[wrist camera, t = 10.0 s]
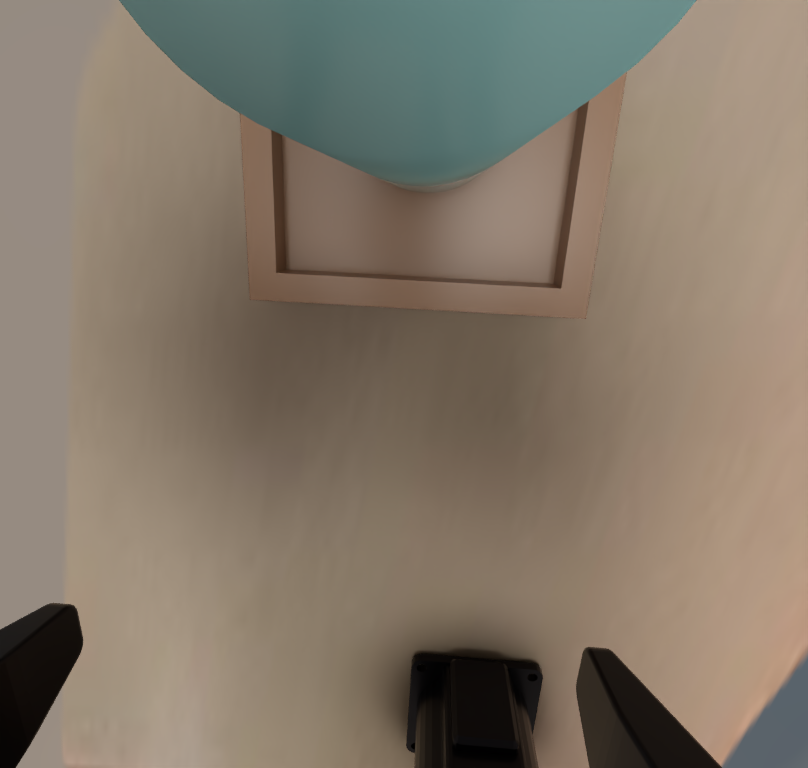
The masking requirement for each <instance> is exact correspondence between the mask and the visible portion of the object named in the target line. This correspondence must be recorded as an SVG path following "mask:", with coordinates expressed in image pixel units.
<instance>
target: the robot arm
mask: <svg viewBox="0 0 808 768" xmlns="http://www.w3.org/2000/svg"><path fill="white" fill-rule="evenodd" d="M82 646H83V636H82V631H81V626H80V621H79V616H78V611H77V609H76V608H75V606H74V605H71V604H60V603H50V604H47V605H45V606H43V607H41V608H40V609H38V610H36V611H34V612H32V613H30V614H28V615H27V616H25V617H23V618H21V619H19V620H17V621H15V622H14V623H12V624H10V625H8V626H6V627H4V628H2V629H1V630H0V768H16V766H17V765H18V763H19V762H20V760H21V758H22V757H23V755H24V754H25V752H26V751H27V749H28V747H29V746H30V744H31V742H32V740H33V739H34V737H35V735H36V734H37V732H38V730H39V728H40V727H41V725H42V723H43V721H44V719H45V717H46V715H47V714H48V712H49V710H50V708H51V706H52V705H53V703H54V701H55V699H56V697H57V696H58V694H59V691H60V690H61V688H62V686H63V685H64V683H65V681H66V679H67V677H68V675H69V674H70V672H71V670H72V668H73V666H74V664H75V663H76V661H77V659H78V657H79V655H80V653H81V650H82ZM419 664H423V665H419ZM542 679H543V676H542V671H541V668H540V666H539V665H537V664H535V663H527V662H515V661H503V660H491V659H479V658H467V657H455V656H443V655H432V654H417V655H415V656H414V657H413V659H412V669H411V683H410V698H409V713H408V728H407V743H406V746H407V749H408V750H409V751H411V752H413V753H415V768H539V767H538V762H537V757H536V751H535V746H534V741H533V729H534V724H535V718H536V713H537V707H538V702H539V696H540V691H541V685H542ZM576 692H577V700H578V706H579V711H580V717H581V722H582V728H583V734H584V739H585V745H586V750H587V756H588V761H589V767H590V768H722V767H721V766H720V765H719V764H718V763H717V762H716V761H715V760H714V759H713V757H712V756H711V755H710V754H709V753H708V752H707V751H706V750H705V749H704V748H703V747H702V746H701V745H700V744H699V743H698V742H697V741H696V739H695V738H694V737H693V736H692V735H691V734H690V733H689V732H688V731H687V730H686V729H685V728H684V727H683V726H682V725H681V724H680V723H679V721H678V720H677V719H676V718H675V717H674V716H673V715H672V714H671V713H670V712H669V711H668V710H667V709H666V708H665V707H664V706H663V705H662V703H661V702H660V701H659V700H658V699H657V698H656V697H655V696H654V695H653V694H652V693H651V692H650V691H649V690H648V689H647V688H646V686H645V685H644V684H643V683H642V682H641V681H640V680H639V679H638V678H637V677H636V676H635V675H634V674H633V673H632V672H631V671H630V670H629V668H628V667H627V666H626V665H625V664H624V663H623V662H622V661H621V660H620V659H619V658H618V657H617V656H616V655H615V654H614V653H613V652H612V651H611V650H609V649H606V648H595V647H587V648H585V650H584V651H583V654H582V659H581V664H580V669H579V673H578V678H577V685H576Z"/></svg>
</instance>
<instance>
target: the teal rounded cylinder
mask: <svg viewBox="0 0 808 768" xmlns="http://www.w3.org/2000/svg"><path fill="white" fill-rule="evenodd" d="M119 1H120V2H121V3H122V5H123V6H124V7H125V8H126V10H127V11H128V12H129V13H130V15H131V16H132V17H133V18H134V20H135V21H136V22H137V24H138V25H139V26H140V27H141V29H142V30H143V31H144V32H145V34H146V35H147V36H148V37H149V38H150V39H151V40H152V41H153V42H154V43H155V44H156V45H157V46H158V47H159V48H160V49H161V50H162V51H163V52H164V53H165V54H166V55H167V56H168V57H169V58H170V59H171V60H172V61H173V62H174V63H175V64H176V65H177V66H178V67H179V68H180V69H181V70H182V71H183V72H184V73H186V74H187V75H188V76H189V77H191V78H192V79H193V80H194V81H196V82H197V83H198V84H199V85H201V86H202V87H203V88H204V89H206V90H207V91H208V92H209V93H211V94H212V95H213V96H214V97H216V98H217V99H218V100H220V101H221V102H223V103H225V104H226V105H228V106H229V107H231V108H233V109H234V110H236V111H238V112H239V113H241V114H243V115H244V116H246V117H247V118H249V119H251V120H252V121H254V122H256V123H257V124H259V125H261V126H264V127H266V128H268V129H270V130H272V131H275V132H277V133H279V134H281V135H284V136H286V137H288V138H290V139H292V140H295V141H297V142H299V143H301V144H303V145H306V146H308V147H310V148H312V149H314V150H317V151H319V152H321V153H323V154H325V155H328V156H330V157H332V158H334V159H336V160H339V161H341V162H343V163H345V164H348V165H350V166H352V167H354V168H356V169H359V170H361V171H363V172H365V173H367V174H370V175H372V176H374V177H376V178H378V179H381V180H383V181H385V182H387V183H389V184H392V185H394V186H396V187H398V188H401V189H404V190H408V191H411V192H418V193H439V192H445V191H449V190H452V189H456V188H458V187H460V186H463V185H465V184H467V183H469V182H470V181H472V180H473V179H475V178H477V177H478V176H480V175H481V174H483V173H484V172H485V171H487V170H488V169H490V168H491V167H493V166H494V165H496V164H497V163H499V162H500V161H502V160H503V159H504V158H506V157H507V156H509V155H510V154H512V153H513V152H515V151H516V150H518V149H519V148H521V147H522V146H523V145H525V144H526V143H528V142H529V141H531V140H532V139H534V138H535V137H537V136H538V135H540V134H541V133H542V132H544V131H545V130H547V129H548V128H550V127H551V126H553V125H554V124H556V123H557V122H559V121H560V120H561V119H563V118H564V117H566V116H567V115H569V114H570V113H572V112H573V111H575V110H576V109H577V108H579V107H580V106H582V105H583V104H585V103H586V102H588V101H589V100H591V99H592V98H594V97H595V96H596V95H598V94H599V93H600V92H602V91H603V90H604V89H605V88H607V87H608V86H609V85H610V84H612V83H613V82H614V81H616V80H617V79H618V78H619V77H621V76H622V75H623V74H624V73H626V72H627V71H628V70H629V69H631V68H632V67H633V66H635V65H636V64H637V63H638V62H639V61H640V60H641V59H642V58H643V57H644V56H645V55H646V54H647V53H648V52H649V51H650V50H651V49H652V48H653V47H654V46H655V45H656V44H657V43H658V42H659V41H660V40H661V39H662V38H663V37H664V36H665V35H666V34H667V33H668V32H670V31H671V30H672V29H673V28H674V27H675V26H676V25H677V24H678V22H679V21H680V20H681V19H682V17H683V16H684V15H685V14H686V13H687V11H688V10H689V9H690V8H691V6H692V5H693V4H694V3H695V1H696V0H119Z"/></svg>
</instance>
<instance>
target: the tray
mask: <svg viewBox="0 0 808 768" xmlns="http://www.w3.org/2000/svg"><path fill="white" fill-rule="evenodd" d="M626 74H627V72H626V73H624V74H623V75H622V76H621V77H619V78H618V79H617V80H616V81H614V82H613V83H612V84H610V85H609V86H608V87H607V88H605V89H604V90H603V91H602V92H600V93H599V94H598V95H596V96H595V97H594V98H592V99H591V100H589V101H588V102H586V103H585V104H583V105H582V106H580V107H579V108H577V109H576V110H575V111H573V112H572V113H570V114H569V115H567V116H566V117H564V118H563V119H561V120H560V121H559V122H557V123H556V124H554V125H553V126H551V127H550V128H548V129H547V130H545V131H544V132H542V133H541V134H540V135H538V136H537V137H535V138H534V139H532V140H531V141H529V142H528V143H526V144H525V145H523V146H522V147H521V148H519V149H518V150H516V151H515V152H513V153H512V154H510V155H509V156H507V157H506V158H504V159H503V160H502V161H500V162H499V163H497V164H496V165H494V166H493V167H491V168H490V169H488V170H487V171H485V172H484V173H483V174H481V175H480V176H478V177H477V178H475V179H473V180H472V181H470V182H469V183H467V184H465V185H463V186H460V187H458V188H456V189H452V190H449V191H445V192H439V193H418V192H411V191H408V190H404V189H401V188H398V187H396V186H394V185H392V184H389V183H387V182H385V181H383V180H381V179H378V178H376V177H374V176H372V175H370V174H367V173H365V172H363V171H361V170H359V169H356V168H354V167H352V166H350V165H348V164H345V163H343V162H341V161H339V160H336V159H334V158H332V157H330V156H328V155H325V154H323V153H321V152H319V151H317V150H314V149H312V148H310V147H308V146H306V145H303V144H301V143H299V142H297V141H295V140H292V139H290V138H288V137H286V136H284V135H281V134H279V133H277V132H275V131H272V130H270V129H268V128H266V127H264V126H261V125H259V124H257V123H256V122H254V121H252V120H251V119H249V118H247V117H246V116H244V115H243V114H241V113H240V122H241V141H242V160H243V179H244V198H245V217H246V236H247V255H248V274H249V293H250V300H266V301H283V302H301V303H318V304H336V305H353V306H371V307H388V308H406V309H423V310H441V311H458V312H476V313H493V314H511V315H528V316H546V317H563V318H581V319H586V314H587V308H588V302H589V296H590V290H591V284H592V278H593V272H594V266H595V260H596V254H597V248H598V242H599V236H600V230H601V224H602V218H603V212H604V206H605V200H606V194H607V188H608V182H609V176H610V170H611V164H612V158H613V152H614V146H615V140H616V134H617V128H618V122H619V116H620V110H621V104H622V98H623V92H624V86H625V80H626Z"/></svg>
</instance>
